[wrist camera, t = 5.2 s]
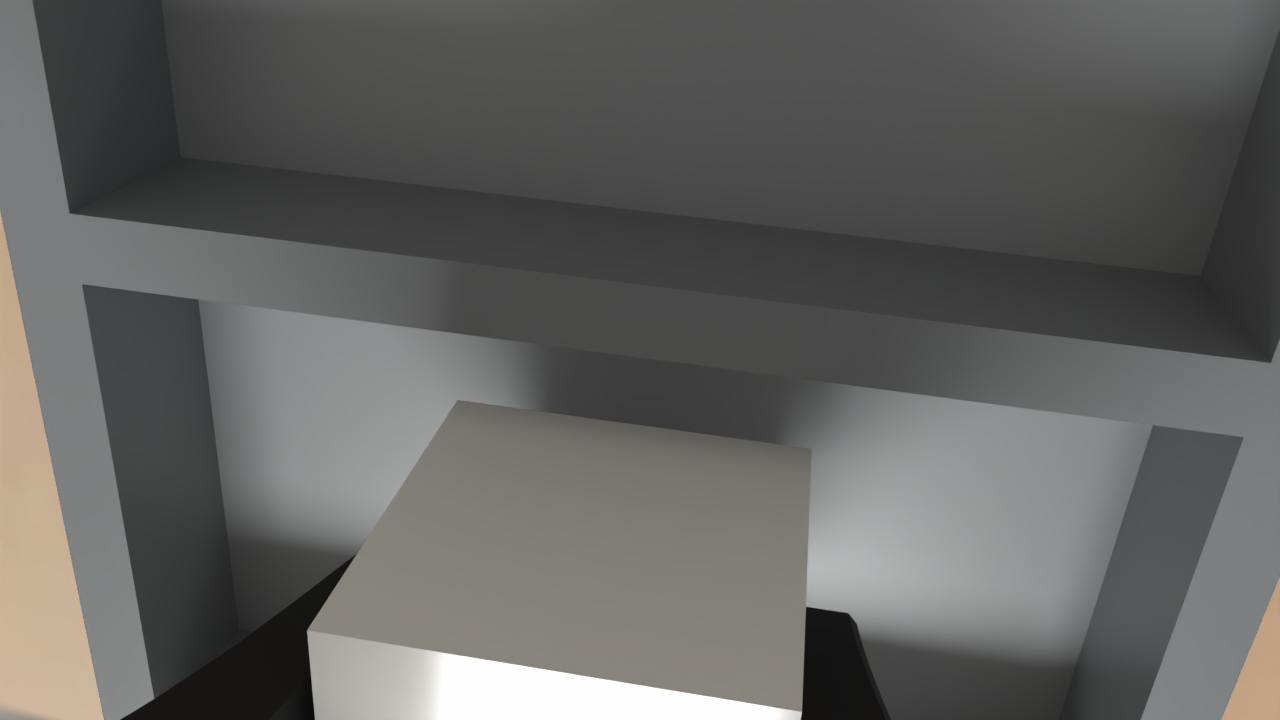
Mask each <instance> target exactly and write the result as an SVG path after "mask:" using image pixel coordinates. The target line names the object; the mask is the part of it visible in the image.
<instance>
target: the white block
mask: <svg viewBox="0 0 1280 720" xmlns="http://www.w3.org/2000/svg"><path fill="white" fill-rule="evenodd" d="M811 453H812V449H809V448H802V447H795V446H787V445H780V444H773V443H766V442H758V441H751V440H744V439H737V438H729V437H722V436H715V435H708V434H700V433H693V432H686V431H679V430H672V429H664V428H657V427H650V426H643V425H635V424H628V423H621V422H614V421H606V420H599V419H592V418H585V417H577V416H570V415H563V414H556V413H548V412H541V411H534V410H527V409H519V408H512V407H505V406H498V405H490V404H483V403H476V402H469V401H461V400H457V402H456V403H455V405H454V406H453V408H452V409H451V411H450V412H449V414H448V415H447V417H446V419H445V420H444V422H443V423H442V425H441V426H440V428H439V429H438V431H437V432H436V434H435V435H434V437H433V438H432V440H431V441H430V443H429V445H428V446H427V448H426V449H425V451H424V452H423V454H422V455H421V457H420V458H419V460H418V461H417V463H416V464H415V466H414V467H413V469H412V471H411V472H410V474H409V475H408V477H407V478H406V480H405V481H404V483H403V484H402V486H401V487H400V489H399V490H398V492H397V493H396V495H395V497H394V498H393V500H392V501H391V503H390V504H389V506H388V507H387V509H386V510H385V512H384V513H383V515H382V516H381V518H380V520H379V521H378V523H377V524H376V526H375V527H374V529H373V530H372V532H371V533H370V535H369V536H368V538H367V539H366V541H365V542H364V544H363V546H362V547H361V549H360V550H359V552H358V553H357V555H356V556H355V558H354V559H353V561H352V562H351V564H350V565H349V567H348V568H347V570H346V572H345V573H344V575H343V576H342V578H341V579H340V581H339V582H338V584H337V585H336V587H335V588H334V590H333V591H332V593H331V594H330V596H329V598H328V599H327V601H326V602H325V604H324V605H323V607H322V608H321V610H320V611H319V613H318V614H317V616H316V617H315V619H314V620H313V622H312V624H311V625H310V627H309V628H308V630H307V636H308V647H309V658H310V670H311V681H312V692H313V703H314V714H315V720H801V715H802V699H803V672H804V645H805V617H806V590H807V563H808V535H809V508H810V481H811Z"/></svg>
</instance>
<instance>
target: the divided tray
mask: <svg viewBox="0 0 1280 720" xmlns="http://www.w3.org/2000/svg"><path fill="white" fill-rule="evenodd" d="M0 211H1V216H2V221H3V225H4V230H5V235H6V240H7V245H8V250H9V255H10V260H11V265H12V270H13V275H14V279H15V284H16V289H17V294H18V299H19V304H20V309H21V314H22V319H23V324H24V329H25V333H26V338H27V343H28V348H29V353H30V358H31V363H32V368H33V373H34V378H35V383H36V387H37V392H38V397H39V402H40V407H41V412H42V417H43V422H44V427H45V432H46V437H47V441H48V446H49V451H50V456H51V461H52V466H53V471H54V476H55V481H56V486H57V491H58V496H59V500H60V505H61V510H62V515H63V520H64V525H65V530H66V535H67V540H68V545H69V550H70V554H71V559H72V564H73V569H74V574H75V579H76V584H77V589H78V594H79V599H80V604H81V608H82V613H83V618H84V623H85V628H86V633H87V638H88V643H89V648H90V653H91V658H92V662H93V667H94V672H95V677H96V682H97V687H98V692H99V697H100V702H101V707H102V712H103V716H104V720H120V719H122V718H123V717H125V716H127V715H129V714H130V713H132V712H134V711H135V710H137V709H139V708H140V707H142V706H143V705H145V704H147V703H148V702H150V701H152V700H153V699H155V698H157V697H158V696H160V695H161V694H163V693H164V692H166V691H167V690H169V689H170V688H172V687H173V686H175V685H176V684H178V683H179V682H181V681H182V680H184V679H185V678H187V677H188V676H190V675H191V674H193V673H194V672H196V671H197V670H199V669H200V668H202V667H203V666H205V665H206V664H208V663H209V662H211V661H212V660H214V659H215V658H217V657H218V656H220V655H221V654H223V653H224V652H226V651H227V650H228V649H230V648H231V647H233V646H234V645H235V644H237V643H238V642H239V641H241V640H242V639H244V638H245V637H246V636H248V635H249V634H250V633H252V632H253V631H255V630H256V629H257V628H259V627H260V626H261V625H263V624H264V623H266V622H267V621H268V620H270V619H271V618H272V617H274V616H275V615H276V614H278V613H279V612H281V611H282V610H283V609H285V608H286V607H287V606H289V605H290V604H291V603H292V602H294V601H295V600H296V599H298V598H299V597H300V596H302V595H303V594H304V593H306V592H307V591H308V590H310V589H311V588H312V587H314V586H315V585H316V584H317V583H319V582H320V581H321V580H323V579H324V578H325V577H327V576H328V575H329V574H330V573H332V572H333V571H334V570H336V569H337V568H338V567H340V566H341V565H342V564H344V563H345V562H346V561H348V560H349V559H350V558H351V557H353V556H354V555H356V554H357V553H358V552H359V550H360V549H361V547H362V546H363V544H364V542H365V541H366V539H367V538H368V536H369V535H370V533H371V532H372V530H373V529H374V527H375V526H376V524H377V523H378V521H379V520H380V518H381V516H382V515H383V513H384V512H385V510H386V509H387V507H388V506H389V504H390V503H391V501H392V500H393V498H394V497H395V495H396V493H397V492H398V490H399V489H400V487H401V486H402V484H403V483H404V481H405V480H406V478H407V477H408V475H409V474H410V472H411V471H412V469H413V467H414V466H415V464H416V463H417V461H418V460H419V458H420V457H421V455H422V454H423V452H424V451H425V449H426V448H427V446H428V445H429V443H430V441H431V440H432V438H433V437H434V435H435V434H436V432H437V431H438V429H439V428H440V426H441V425H442V423H443V422H444V420H445V419H446V417H447V415H448V414H449V412H450V411H451V409H452V408H453V406H454V405H455V403H456V402H457V400H461V401H469V402H476V403H483V404H490V405H498V406H505V407H512V408H519V409H527V410H534V411H541V412H548V413H556V414H563V415H570V416H577V417H585V418H592V419H599V420H606V421H614V422H621V423H628V424H635V425H643V426H650V427H657V428H664V429H672V430H679V431H686V432H693V433H700V434H708V435H715V436H722V437H729V438H737V439H744V440H751V441H758V442H766V443H773V444H780V445H787V446H795V447H802V448H809V449H812V453H811V481H810V508H809V535H808V563H807V590H806V607H811V608H818V609H824V610H831V611H837V612H844V613H849V615H850V616H851V617H852V618H853V620H854V621H855V622H856V623H857V626H858V630H859V634H860V638H861V641H862V644H863V647H864V651H865V654H866V657H867V660H868V663H869V665H870V668H871V671H872V674H873V676H874V679H875V682H876V684H877V687H878V689H879V692H880V694H881V697H882V699H883V702H884V704H885V707H886V709H887V712H888V714H889V716H890V719H891V720H1221V719H1222V716H1223V714H1224V711H1225V709H1226V707H1227V704H1228V702H1229V699H1230V697H1231V694H1232V692H1233V689H1234V687H1235V684H1236V682H1237V680H1238V677H1239V675H1240V672H1241V670H1242V667H1243V665H1244V662H1245V660H1246V658H1247V655H1248V653H1249V650H1250V648H1251V645H1252V643H1253V640H1254V638H1255V636H1256V633H1257V631H1258V628H1259V626H1260V623H1261V621H1262V618H1263V616H1264V614H1265V611H1266V609H1267V606H1268V604H1269V601H1270V599H1271V596H1272V594H1273V592H1274V589H1275V587H1276V584H1277V582H1278V579H1279V577H1280V0H0Z"/></svg>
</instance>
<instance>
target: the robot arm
mask: <svg viewBox="0 0 1280 720" xmlns="http://www.w3.org/2000/svg"><path fill="white" fill-rule="evenodd" d="M356 555H357V554H356ZM356 555H354V556H353V557H351V558H350V559H349V560H348V561H346V562H345V563H344V564H342V565H341V566H340V567H338V568H337V569H336V570H334V571H333V572H332V573H330V574H329V575H328V576H327V577H325V578H324V579H323V580H321V581H320V582H319V583H317V584H316V585H315V586H314V587H312V588H311V589H310V590H308V591H307V592H306V593H304V594H303V595H302V596H300V597H299V598H298V599H296V600H295V601H294V602H292V603H291V604H290V605H289V606H287V607H286V608H285V609H283V610H282V611H281V612H279V613H278V614H276V615H275V616H274V617H272V618H271V619H270V620H268V621H267V622H266V623H264V624H263V625H261V626H260V627H259V628H257V629H256V630H255V631H253V632H252V633H250V634H249V635H248V636H246V637H245V638H244V639H242V640H241V641H239V642H238V643H237V644H235V645H234V646H233V647H231V648H230V649H228V650H227V651H226V652H224V653H223V654H221V655H220V656H218V657H217V658H215V659H214V660H212V661H211V662H209V663H208V664H206V665H205V666H203V667H202V668H200V669H199V670H197V671H196V672H194V673H193V674H191V675H190V676H188V677H187V678H185V679H184V680H182V681H181V682H179V683H178V684H176V685H175V686H173V687H172V688H170V689H169V690H167V691H166V692H164V693H163V694H161V695H160V696H158V697H157V698H155V699H153V700H152V701H150V702H148V703H147V704H145V705H143V706H142V707H140V708H139V709H137V710H135V711H134V712H132V713H130V714H129V715H127V716H125V717H123V718H122V719H120V720H315V714H314V703H313V692H312V681H311V670H310V658H309V647H308V636H307V630H308V628H309V627H310V625H311V624H312V622H313V620H314V619H315V617H316V616H317V614H318V613H319V611H320V610H321V608H322V607H323V605H324V604H325V602H326V601H327V599H328V598H329V596H330V594H331V593H332V591H333V590H334V588H335V587H336V585H337V584H338V582H339V581H340V579H341V578H342V576H343V575H344V573H345V572H346V570H347V568H348V567H349V565H350V564H351V562H352V561H353V559H354V558H355V556H356ZM801 720H891V719H890V716H889V714H888V712H887V709H886V707H885V704H884V702H883V699H882V697H881V694H880V692H879V689H878V687H877V684H876V682H875V679H874V676H873V674H872V671H871V668H870V665H869V663H868V660H867V657H866V654H865V651H864V647H863V644H862V641H861V638H860V634H859V630H858V626H857V623H856V622H855V621H854V620H853V618H852V617H851V616H850V615H849V613H844V612H837V611H831V610H824V609H818V608H811V607H806V617H805V645H804V672H803V699H802V715H801Z"/></svg>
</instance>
